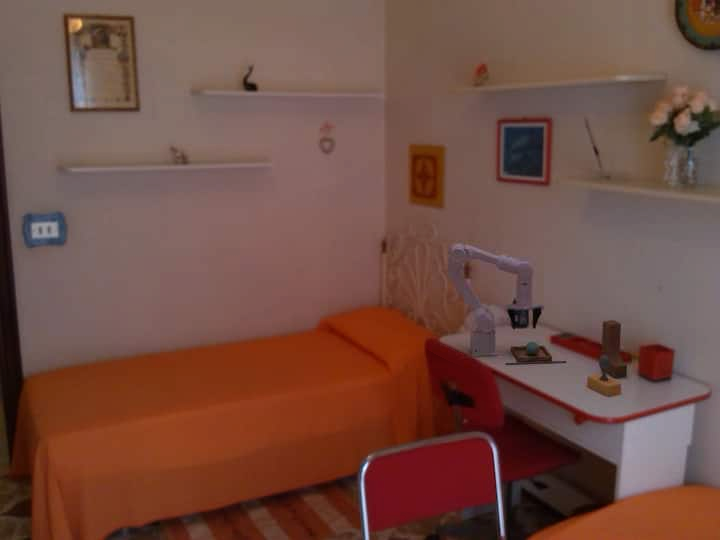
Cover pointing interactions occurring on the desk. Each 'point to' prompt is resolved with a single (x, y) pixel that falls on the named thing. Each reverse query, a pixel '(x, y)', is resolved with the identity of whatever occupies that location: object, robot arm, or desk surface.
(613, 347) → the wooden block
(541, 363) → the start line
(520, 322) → the soda can
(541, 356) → the tray
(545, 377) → the desk surface
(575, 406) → the desk surface
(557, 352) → the desk surface
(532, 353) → the ball
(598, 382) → the rubber stamp
